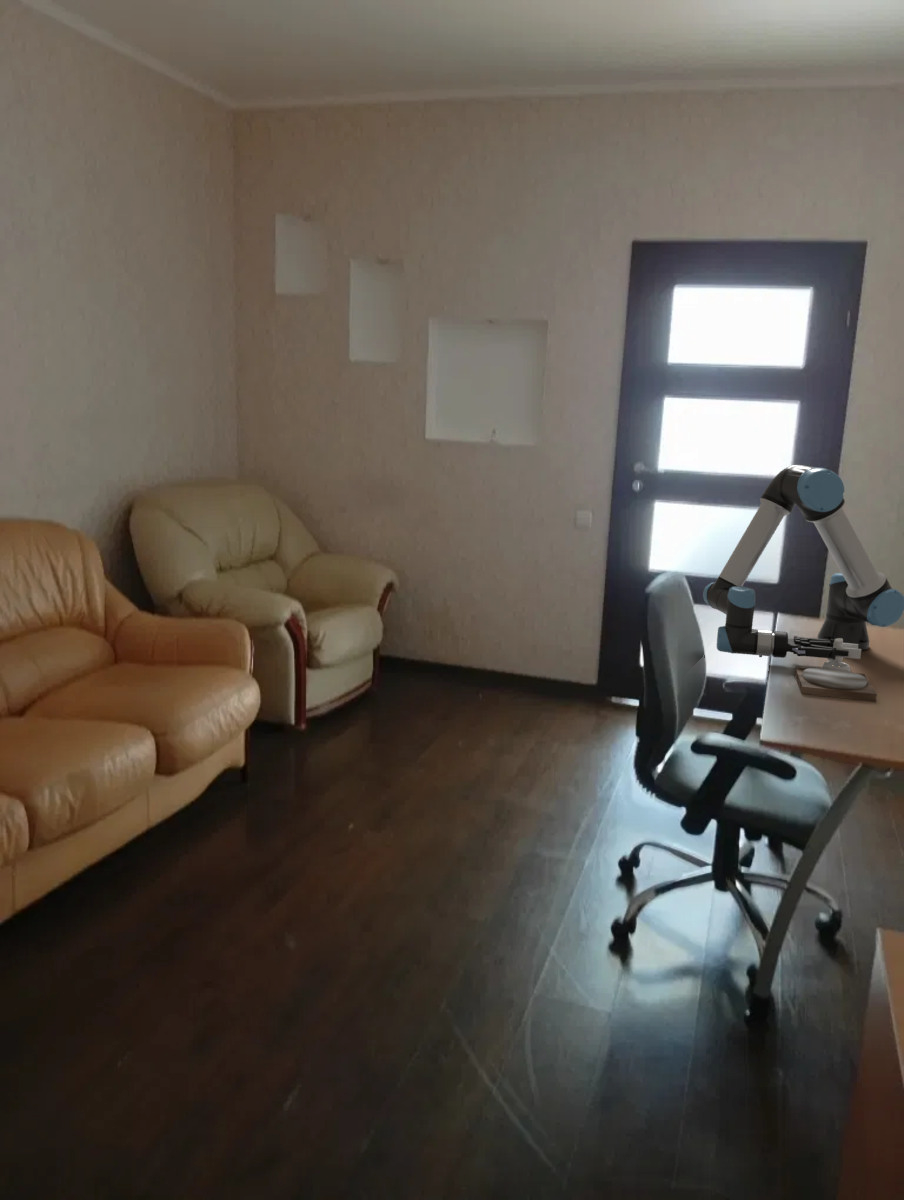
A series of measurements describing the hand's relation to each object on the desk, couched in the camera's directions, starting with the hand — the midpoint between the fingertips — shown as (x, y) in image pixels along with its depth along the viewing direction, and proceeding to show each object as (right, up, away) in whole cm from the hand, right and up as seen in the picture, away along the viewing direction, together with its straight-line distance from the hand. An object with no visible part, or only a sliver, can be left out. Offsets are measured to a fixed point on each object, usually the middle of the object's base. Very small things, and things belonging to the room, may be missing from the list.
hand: (858, 651), depth 255 cm
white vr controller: (-5, -6, +4) cm, 8 cm away
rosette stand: (-13, -9, -12) cm, 20 cm away
